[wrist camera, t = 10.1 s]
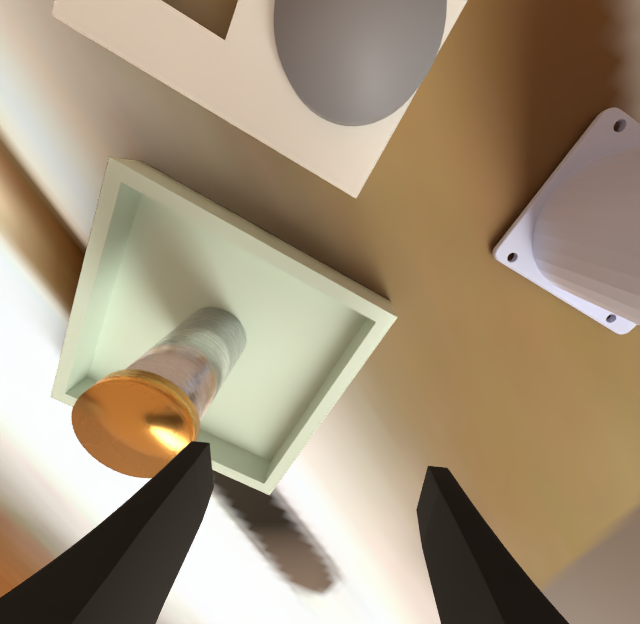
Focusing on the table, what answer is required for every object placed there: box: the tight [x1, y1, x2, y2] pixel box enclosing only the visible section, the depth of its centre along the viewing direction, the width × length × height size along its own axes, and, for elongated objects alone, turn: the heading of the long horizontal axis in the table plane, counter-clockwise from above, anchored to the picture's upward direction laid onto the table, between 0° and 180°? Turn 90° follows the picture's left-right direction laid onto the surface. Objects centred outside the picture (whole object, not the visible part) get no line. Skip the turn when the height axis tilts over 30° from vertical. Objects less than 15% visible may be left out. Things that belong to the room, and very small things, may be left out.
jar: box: [72, 307, 246, 478], centre depth 16 cm, size 5×5×8 cm
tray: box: [51, 157, 397, 495], centre depth 19 cm, size 16×16×2 cm
